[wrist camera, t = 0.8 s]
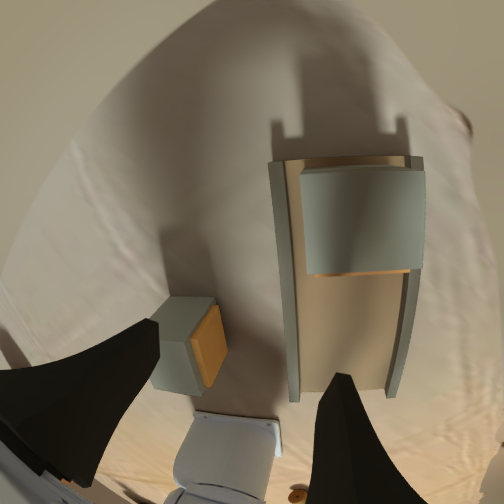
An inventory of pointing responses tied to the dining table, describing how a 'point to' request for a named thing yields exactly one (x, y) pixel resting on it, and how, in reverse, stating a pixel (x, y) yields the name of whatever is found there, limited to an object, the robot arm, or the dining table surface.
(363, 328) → the jaw track
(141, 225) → the dining table surface
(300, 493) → the kendama
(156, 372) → the block
